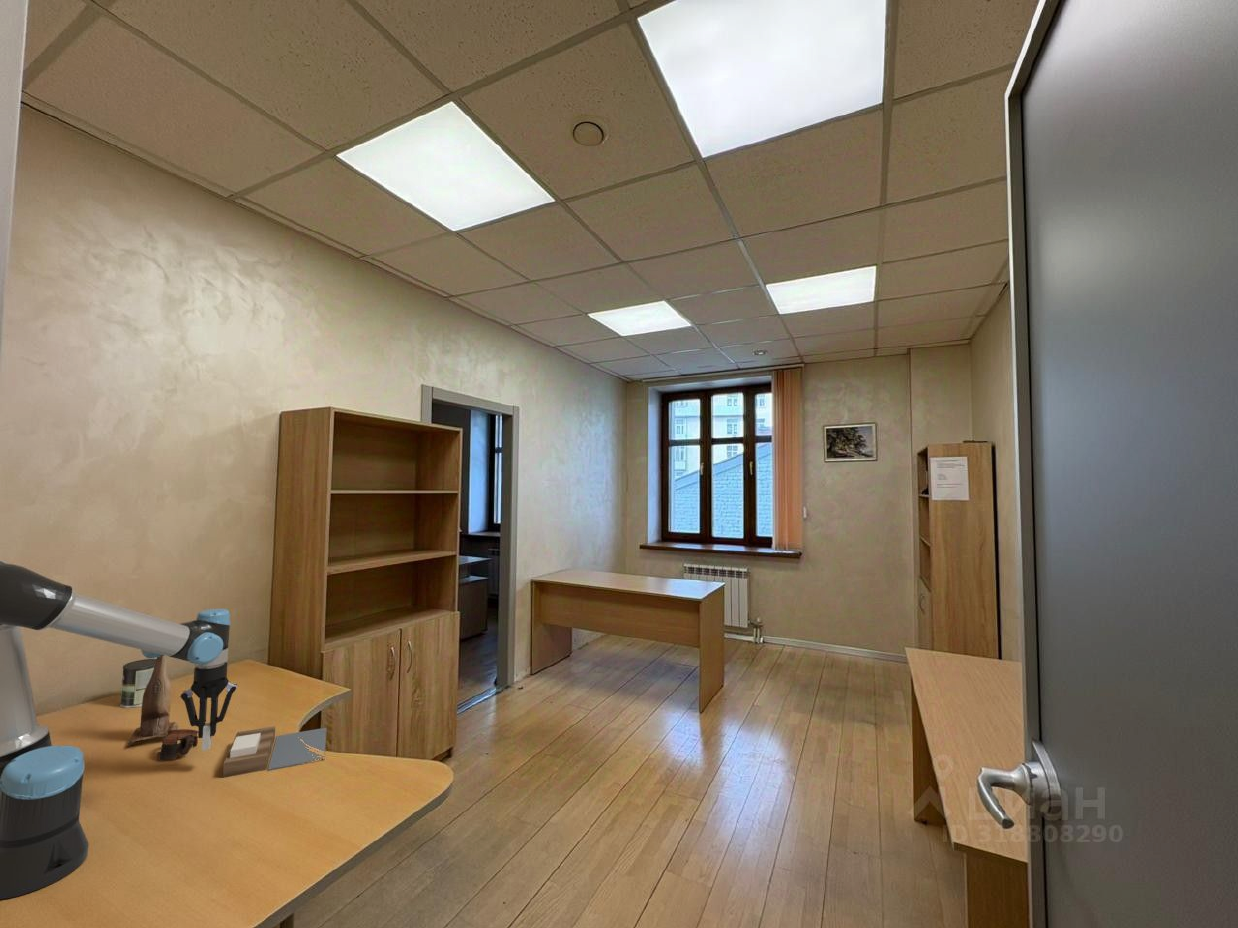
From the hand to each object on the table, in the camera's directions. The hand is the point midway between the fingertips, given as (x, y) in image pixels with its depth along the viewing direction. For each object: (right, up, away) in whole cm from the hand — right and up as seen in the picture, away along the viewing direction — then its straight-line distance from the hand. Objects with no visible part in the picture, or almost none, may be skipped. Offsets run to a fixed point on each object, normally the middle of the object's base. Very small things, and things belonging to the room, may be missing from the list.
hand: (206, 747), depth 147 cm
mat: (+19, -7, +13) cm, 24 cm away
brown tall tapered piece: (-30, -6, +16) cm, 35 cm away
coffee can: (-59, -7, +42) cm, 73 cm away
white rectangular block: (+8, -3, +4) cm, 10 cm away
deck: (+8, -7, +7) cm, 12 cm away
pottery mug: (-14, -6, +8) cm, 17 cm away
